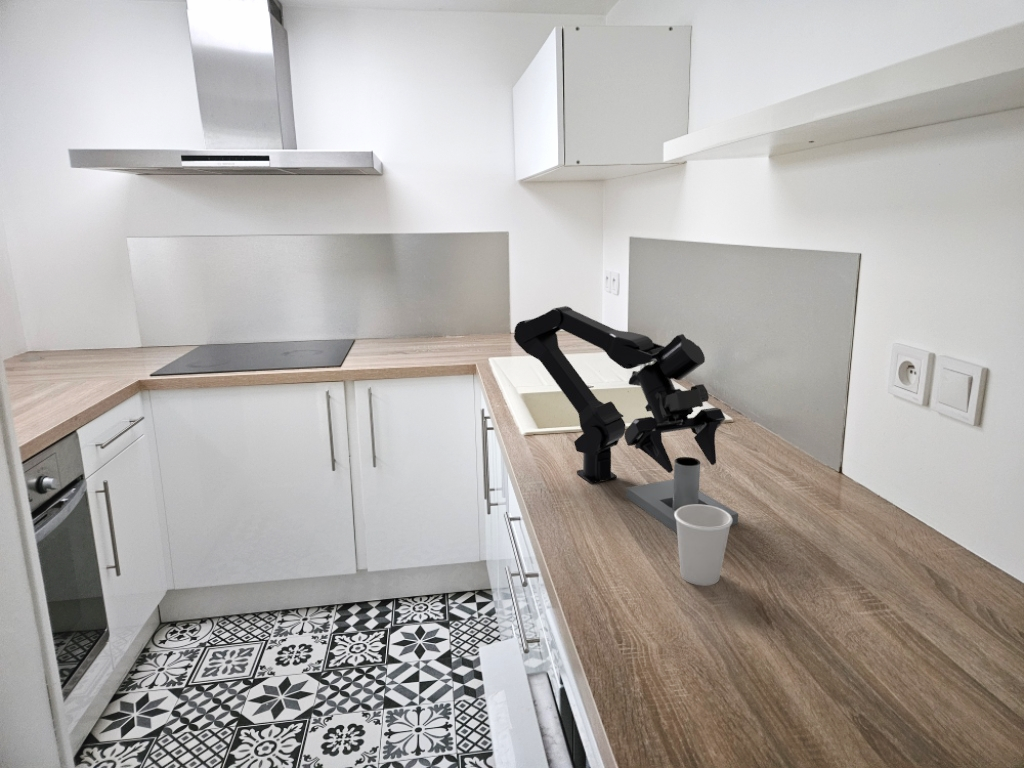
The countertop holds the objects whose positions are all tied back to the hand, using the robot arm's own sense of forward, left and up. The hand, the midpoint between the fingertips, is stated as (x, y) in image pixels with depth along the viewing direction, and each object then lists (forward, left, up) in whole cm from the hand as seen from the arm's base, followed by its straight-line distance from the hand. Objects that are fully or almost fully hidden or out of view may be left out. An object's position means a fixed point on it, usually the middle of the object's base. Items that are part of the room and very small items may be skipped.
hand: (692, 467), depth 121 cm
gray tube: (-2, 0, -10) cm, 10 cm away
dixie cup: (+18, -11, -10) cm, 23 cm away
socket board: (-3, 0, -10) cm, 10 cm away
